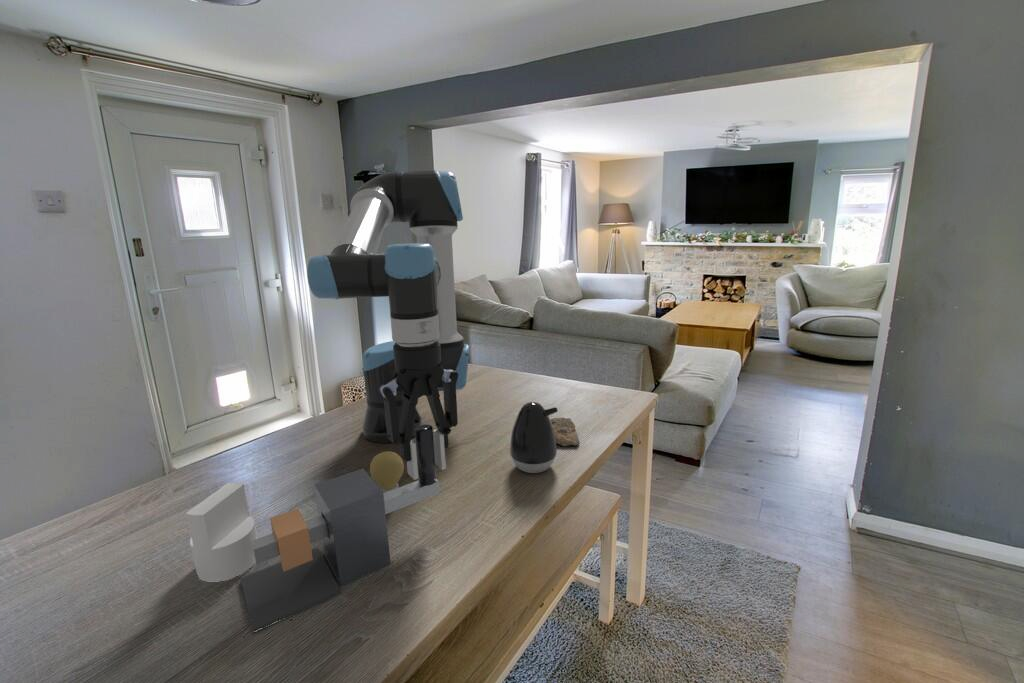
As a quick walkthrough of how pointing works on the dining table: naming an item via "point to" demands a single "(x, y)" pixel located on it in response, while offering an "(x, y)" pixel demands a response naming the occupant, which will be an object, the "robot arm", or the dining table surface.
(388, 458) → the light bulb
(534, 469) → the pump dispenser
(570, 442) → the rock
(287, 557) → the tan wooden block
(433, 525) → the dining table surface
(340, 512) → the bearing block
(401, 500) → the shaft
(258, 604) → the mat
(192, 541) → the cylinder with rectangular tab
